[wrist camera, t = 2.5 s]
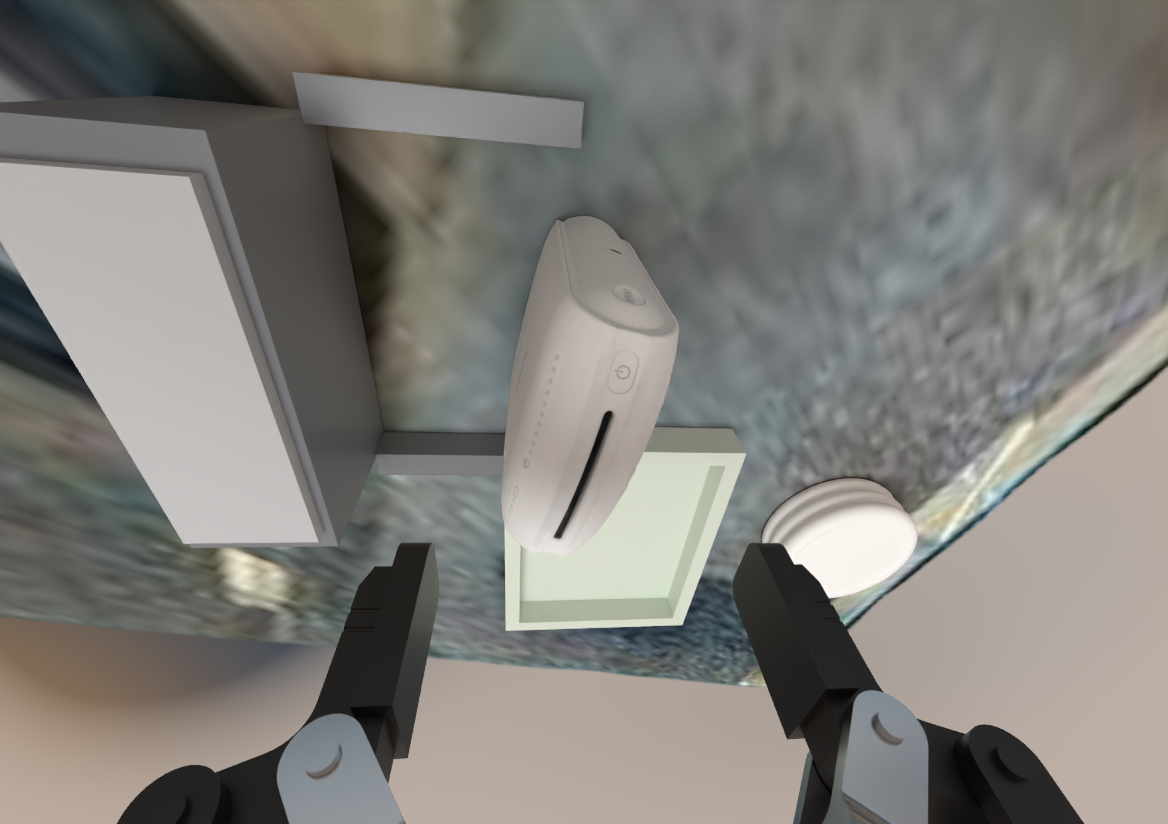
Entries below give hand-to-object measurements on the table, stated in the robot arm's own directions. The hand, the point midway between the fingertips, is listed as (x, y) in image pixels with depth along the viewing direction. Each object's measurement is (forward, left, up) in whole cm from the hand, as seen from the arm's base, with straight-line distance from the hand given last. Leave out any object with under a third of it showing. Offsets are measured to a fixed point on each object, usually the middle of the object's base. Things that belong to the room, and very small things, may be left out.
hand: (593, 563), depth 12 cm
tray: (+16, +4, -15) cm, 22 cm away
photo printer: (0, 0, -15) cm, 15 cm away
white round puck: (+16, +21, -15) cm, 31 cm away
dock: (0, -8, -15) cm, 17 cm away
